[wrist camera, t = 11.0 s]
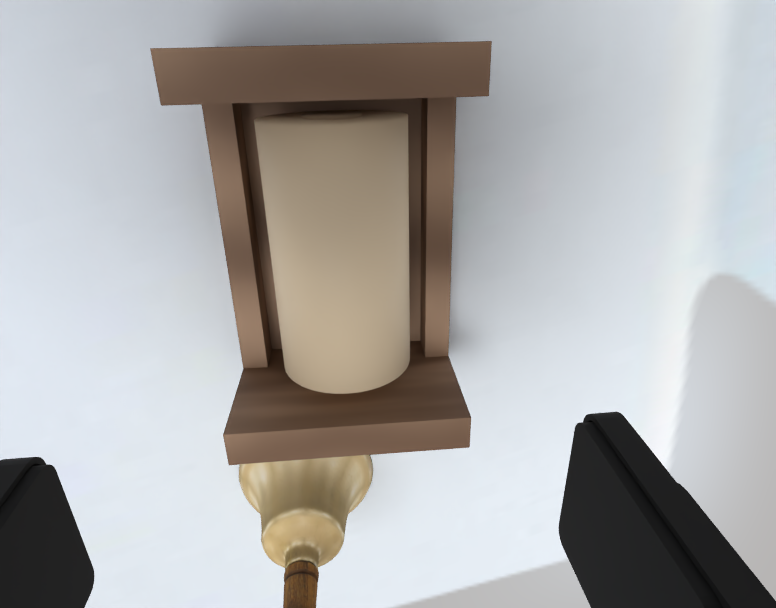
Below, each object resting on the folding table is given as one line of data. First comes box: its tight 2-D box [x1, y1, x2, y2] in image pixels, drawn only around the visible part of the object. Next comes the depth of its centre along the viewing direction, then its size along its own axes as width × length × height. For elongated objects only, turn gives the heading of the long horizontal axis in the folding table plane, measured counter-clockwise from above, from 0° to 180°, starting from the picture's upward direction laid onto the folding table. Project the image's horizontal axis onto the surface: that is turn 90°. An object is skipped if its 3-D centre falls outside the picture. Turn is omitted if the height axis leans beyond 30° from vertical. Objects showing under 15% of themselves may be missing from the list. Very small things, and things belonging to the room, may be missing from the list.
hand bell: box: [239, 455, 373, 608], centre depth 26 cm, size 8×8×16 cm
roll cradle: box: [151, 41, 492, 465], centre depth 23 cm, size 16×10×8 cm, turn 1°
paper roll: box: [254, 110, 410, 394], centre depth 23 cm, size 11×6×6 cm, turn 1°
